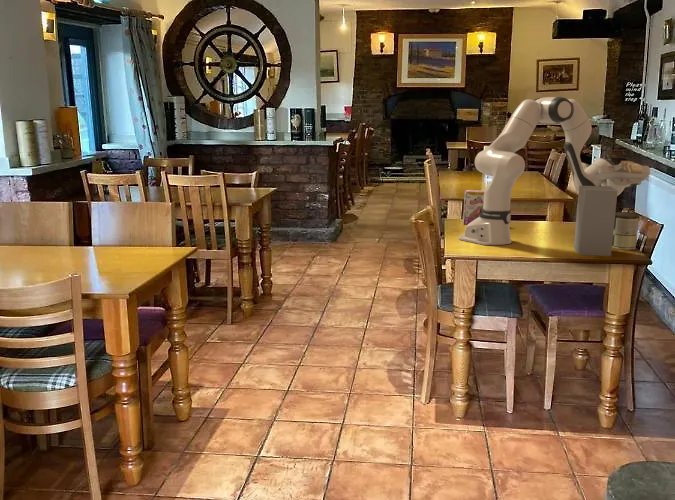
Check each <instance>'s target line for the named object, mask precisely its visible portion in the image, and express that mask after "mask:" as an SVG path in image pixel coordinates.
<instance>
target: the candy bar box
mask: <svg viewBox="0 0 675 500" xmlns="http://www.w3.org/2000/svg"><path fill="white" fill-rule="evenodd" d="M484 192H485V190H472V189H466V190H464V201H463V204H464V205H463V214H462V215H463V216H462V217H463V219H462V223H463V225H466V226H467V225H468V224H469V223H470V222H472V221H473V220H475V219H476V218H478V217H479V213H478V212H479V210H481V209H483V205H484Z"/></svg>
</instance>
